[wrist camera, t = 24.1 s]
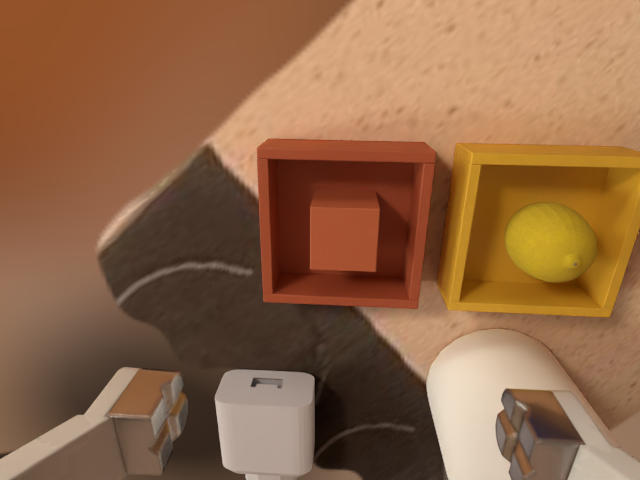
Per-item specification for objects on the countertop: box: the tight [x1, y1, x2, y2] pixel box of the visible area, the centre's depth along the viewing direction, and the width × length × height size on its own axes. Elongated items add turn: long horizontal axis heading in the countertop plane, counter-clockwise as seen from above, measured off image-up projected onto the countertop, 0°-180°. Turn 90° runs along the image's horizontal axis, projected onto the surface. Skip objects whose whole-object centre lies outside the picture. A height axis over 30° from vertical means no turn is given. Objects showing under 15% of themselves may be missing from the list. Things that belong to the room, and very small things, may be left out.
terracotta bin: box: [257, 139, 436, 309], centre depth 33 cm, size 13×13×4 cm
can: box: [426, 328, 623, 480], centre depth 31 cm, size 12×12×20 cm
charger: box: [215, 370, 315, 480], centre depth 42 cm, size 5×9×15 cm
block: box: [310, 189, 380, 272], centre depth 32 cm, size 5×5×5 cm
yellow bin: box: [437, 143, 640, 317], centre depth 32 cm, size 13×13×4 cm
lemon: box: [504, 202, 598, 282], centre depth 30 cm, size 6×6×8 cm
